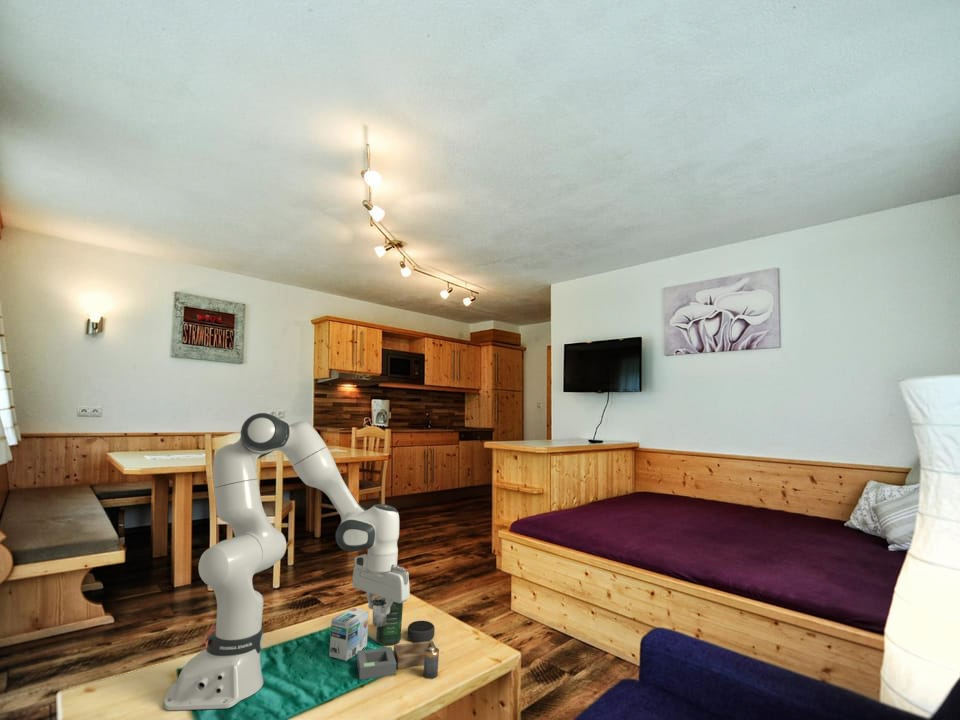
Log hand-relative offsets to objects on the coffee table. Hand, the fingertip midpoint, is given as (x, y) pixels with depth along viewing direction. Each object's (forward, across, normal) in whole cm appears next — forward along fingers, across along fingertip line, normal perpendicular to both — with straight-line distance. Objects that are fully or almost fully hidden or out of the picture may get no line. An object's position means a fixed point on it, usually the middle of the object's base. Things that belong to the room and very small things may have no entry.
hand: (378, 610), depth 140 cm
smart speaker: (+16, +2, -23) cm, 28 cm away
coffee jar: (+16, +10, -16) cm, 24 cm away
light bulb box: (+16, +14, -2) cm, 21 cm away
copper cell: (+16, -15, -7) cm, 23 cm away
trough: (+16, -6, -11) cm, 20 cm away
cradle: (+16, 0, 0) cm, 16 cm away
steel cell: (+4, 0, 0) cm, 4 cm away
